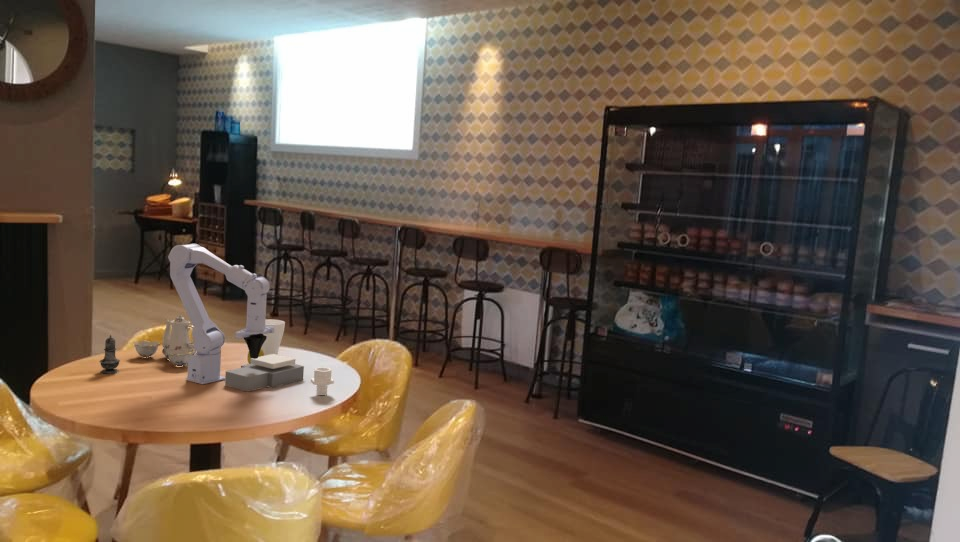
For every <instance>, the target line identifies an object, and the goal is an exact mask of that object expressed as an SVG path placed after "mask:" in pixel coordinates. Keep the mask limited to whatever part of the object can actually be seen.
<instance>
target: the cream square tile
mask: <svg viewBox="0 0 960 542" xmlns="http://www.w3.org/2000/svg"><path fill="white" fill-rule="evenodd" d="M250 363H251V364H255V365H259V366H263V367H267V368H271V369H275V368H279V367H283V366H288V365H292V364H296V359H295V358H293V357H290V356H284V355H281V354H278V355H276V354H270V355H265V356H261V357H258V358H256V359H254V358H251V361H250Z"/></svg>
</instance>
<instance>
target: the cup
mask: <svg viewBox="0 0 960 542" xmlns="http://www.w3.org/2000/svg"><path fill="white" fill-rule="evenodd" d="M285 325H286V321H284V320H280V319H274V318H273V319H271V318H270V319H267V318H265V327H268V326H271V327H274V333H267V334H263V335H264V336H267V338H266V340H265V342H264V343H263V345H262V347H261V349H262V350H263V352H264V356H265V355H270V354H276V355H279V350H280V349H279V348H280V347H281V346H280V345H281V342H282V340H283V335H284V333H285V327H286V326H285Z"/></svg>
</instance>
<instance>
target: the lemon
mask: <svg viewBox="0 0 960 542" xmlns="http://www.w3.org/2000/svg"><path fill="white" fill-rule="evenodd" d="M261 356H264V352H263V350H262V349H261V350H260V353H259V356H258V357H261ZM250 361H251V358H250V353H249V351H248V353H247V362H248V363H247V364H251V363H250Z"/></svg>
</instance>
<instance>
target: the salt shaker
mask: <svg viewBox="0 0 960 542" xmlns="http://www.w3.org/2000/svg"><path fill="white" fill-rule="evenodd" d="M104 345H105V347H104V349H103V350H104V357H103V359H101V360H99V363H100V366H101V368H103V369H101V370H100V371H99V372H100V374H102V375H103V374H104V375H106V374H107V375H111V374H112V375H113V374H118V373H119V372H120V370H119V369H117V368H118V367H119V365H120V362H121V359H118V358H117V355H116V350H117V347H116V338H114V337H112V335H109V337H108V338H106V339H105V343H104ZM117 372H118V373H117Z"/></svg>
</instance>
